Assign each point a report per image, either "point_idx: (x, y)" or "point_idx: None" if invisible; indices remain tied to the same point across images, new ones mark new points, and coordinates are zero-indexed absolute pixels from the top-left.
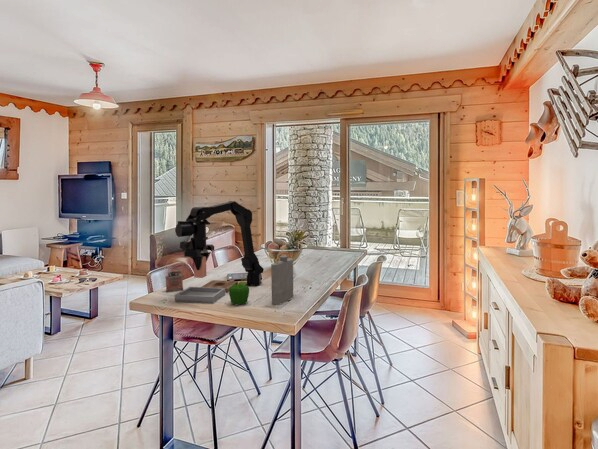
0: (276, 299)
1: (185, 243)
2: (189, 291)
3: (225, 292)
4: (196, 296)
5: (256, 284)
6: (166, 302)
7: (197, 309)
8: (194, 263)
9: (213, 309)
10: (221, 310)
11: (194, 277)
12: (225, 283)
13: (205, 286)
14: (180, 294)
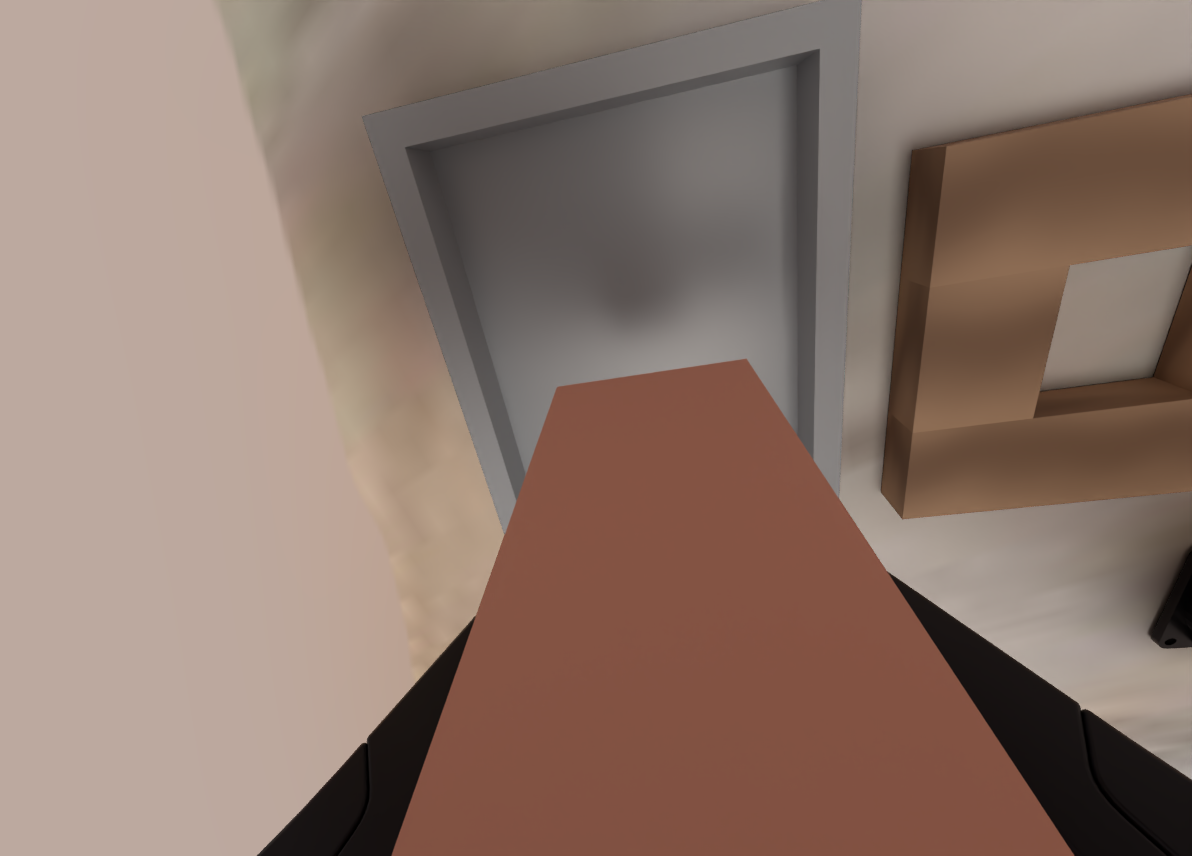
0: None
1: None
2: (754, 74)
3: (883, 470)
4: (467, 421)
5: (1175, 630)
6: (329, 24)
7: (363, 490)
8: (471, 662)
9: (425, 584)
10: (436, 630)
11: (559, 390)
12: None
13: (1002, 200)
14: (481, 131)
